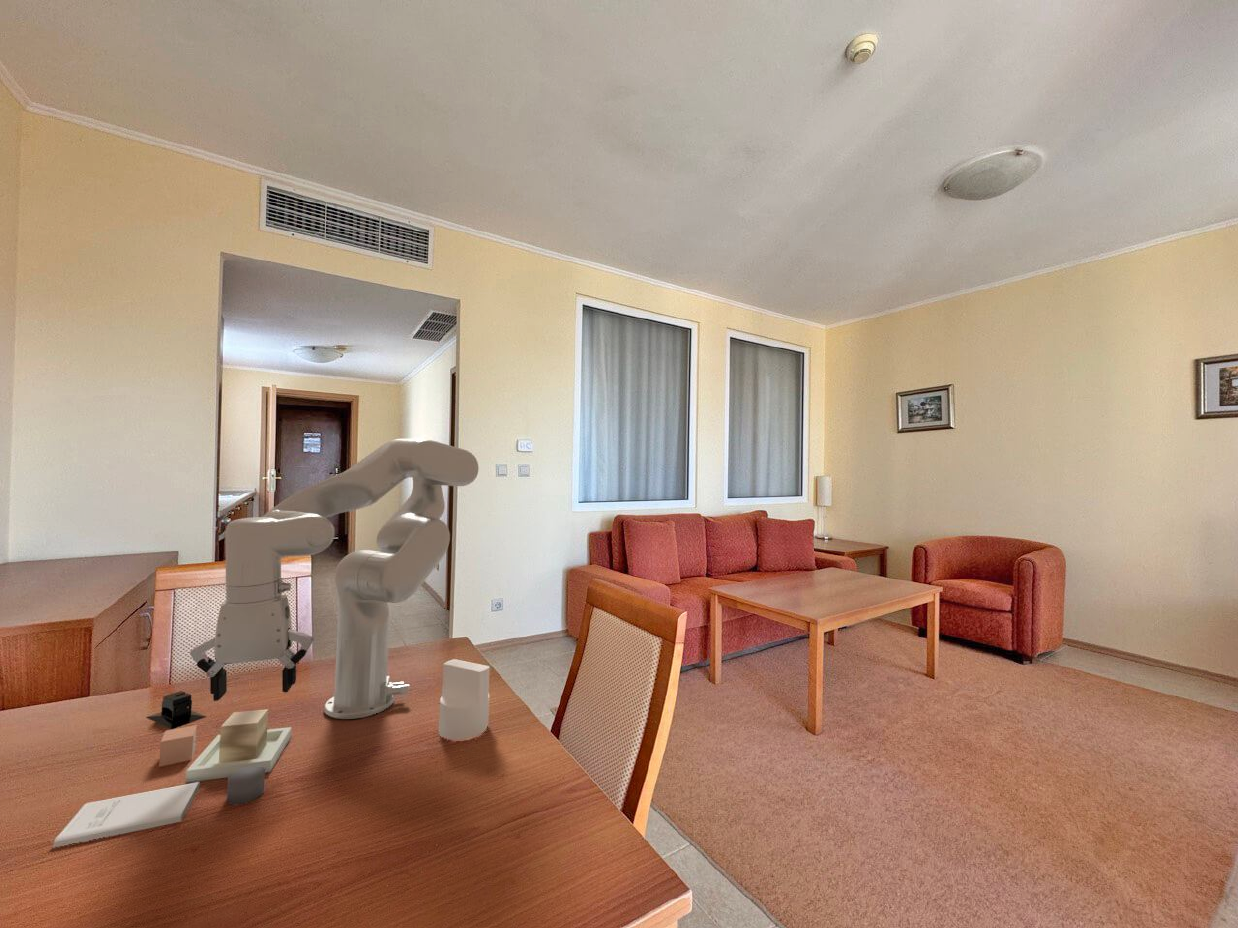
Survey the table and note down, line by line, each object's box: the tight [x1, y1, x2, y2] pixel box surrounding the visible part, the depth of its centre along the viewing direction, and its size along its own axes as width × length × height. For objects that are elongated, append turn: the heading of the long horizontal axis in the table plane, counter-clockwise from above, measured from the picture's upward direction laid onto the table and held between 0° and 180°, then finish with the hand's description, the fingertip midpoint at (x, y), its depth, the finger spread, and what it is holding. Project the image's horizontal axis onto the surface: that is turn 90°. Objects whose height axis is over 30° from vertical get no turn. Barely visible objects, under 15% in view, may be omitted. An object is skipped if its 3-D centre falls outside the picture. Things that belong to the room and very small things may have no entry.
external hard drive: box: [52, 781, 201, 849], centre depth 69 cm, size 2×8×12 cm
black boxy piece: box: [145, 690, 207, 730], centre depth 96 cm, size 12×7×5 cm, turn 65°
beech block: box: [219, 708, 269, 763], centre depth 83 cm, size 5×5×6 cm
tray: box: [185, 726, 293, 784], centre depth 83 cm, size 11×11×2 cm
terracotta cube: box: [158, 724, 198, 768], centre depth 83 cm, size 4×4×4 cm
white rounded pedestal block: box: [438, 658, 491, 740], centre depth 95 cm, size 9×9×12 cm
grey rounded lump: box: [226, 766, 266, 805], centre depth 74 cm, size 4×4×3 cm
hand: (254, 692), depth 84 cm, fingers open, 9 cm apart
